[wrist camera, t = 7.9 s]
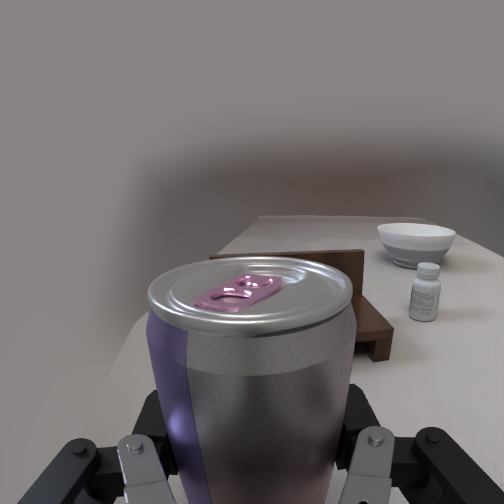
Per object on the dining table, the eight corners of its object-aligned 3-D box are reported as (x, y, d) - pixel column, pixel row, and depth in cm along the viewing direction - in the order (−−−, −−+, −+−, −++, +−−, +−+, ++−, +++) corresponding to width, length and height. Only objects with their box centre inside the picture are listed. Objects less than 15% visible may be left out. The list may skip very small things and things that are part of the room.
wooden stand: (206, 374, 32) (196, 284, 30) (215, 325, 44) (210, 254, 41) (389, 359, 32) (400, 274, 30) (357, 317, 44) (361, 249, 42)
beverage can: (182, 548, 11) (95, 293, 8) (238, 485, 16) (219, 249, 13) (284, 592, 8) (324, 351, 5) (328, 514, 13) (374, 263, 10)
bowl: (361, 258, 77) (362, 224, 75) (418, 251, 81) (419, 222, 79) (409, 279, 58) (413, 238, 56) (468, 268, 62) (471, 233, 60)
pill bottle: (419, 308, 45) (425, 259, 43) (441, 316, 41) (448, 266, 39) (402, 315, 43) (408, 264, 41) (425, 324, 39) (432, 271, 37)
